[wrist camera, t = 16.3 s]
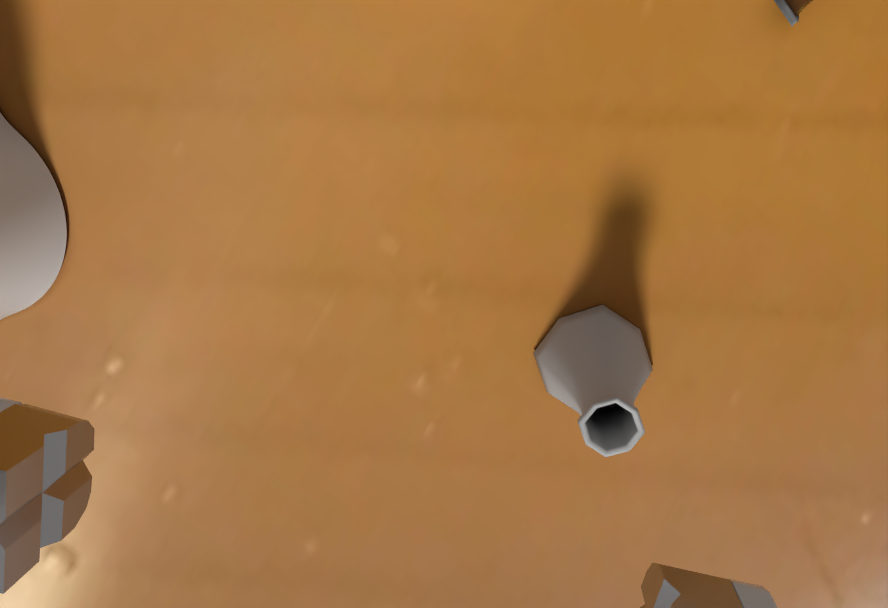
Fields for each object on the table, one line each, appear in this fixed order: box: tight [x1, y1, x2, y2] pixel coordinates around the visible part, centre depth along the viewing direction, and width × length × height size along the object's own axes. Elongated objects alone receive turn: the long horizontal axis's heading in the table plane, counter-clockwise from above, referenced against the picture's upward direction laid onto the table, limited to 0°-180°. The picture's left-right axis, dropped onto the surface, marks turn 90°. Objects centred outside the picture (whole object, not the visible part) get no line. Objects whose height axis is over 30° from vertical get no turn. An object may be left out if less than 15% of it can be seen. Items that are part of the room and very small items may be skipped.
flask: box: [533, 305, 653, 457], centre depth 40 cm, size 7×7×10 cm
